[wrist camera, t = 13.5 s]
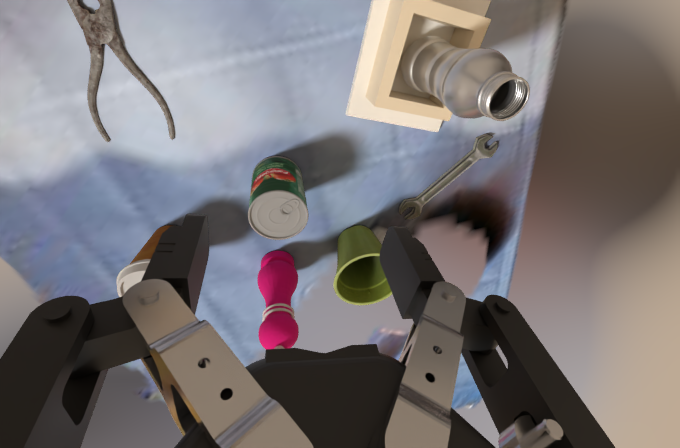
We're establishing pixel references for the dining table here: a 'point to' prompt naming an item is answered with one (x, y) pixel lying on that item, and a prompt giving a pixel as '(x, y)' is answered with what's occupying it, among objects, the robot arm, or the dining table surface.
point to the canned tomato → (277, 199)
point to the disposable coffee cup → (138, 263)
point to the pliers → (98, 33)
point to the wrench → (449, 176)
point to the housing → (389, 47)
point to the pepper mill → (278, 300)
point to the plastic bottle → (465, 78)
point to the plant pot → (360, 268)
